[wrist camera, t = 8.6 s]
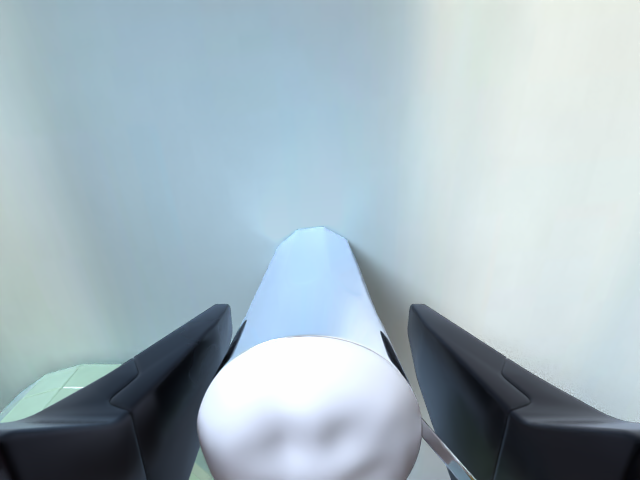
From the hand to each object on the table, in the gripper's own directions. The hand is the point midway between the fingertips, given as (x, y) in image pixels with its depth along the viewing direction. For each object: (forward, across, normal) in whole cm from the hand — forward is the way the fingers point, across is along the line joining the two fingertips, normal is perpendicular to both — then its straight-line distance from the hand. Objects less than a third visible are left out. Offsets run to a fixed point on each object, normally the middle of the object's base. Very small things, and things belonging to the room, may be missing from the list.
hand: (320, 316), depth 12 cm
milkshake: (+4, 0, 0) cm, 4 cm away
